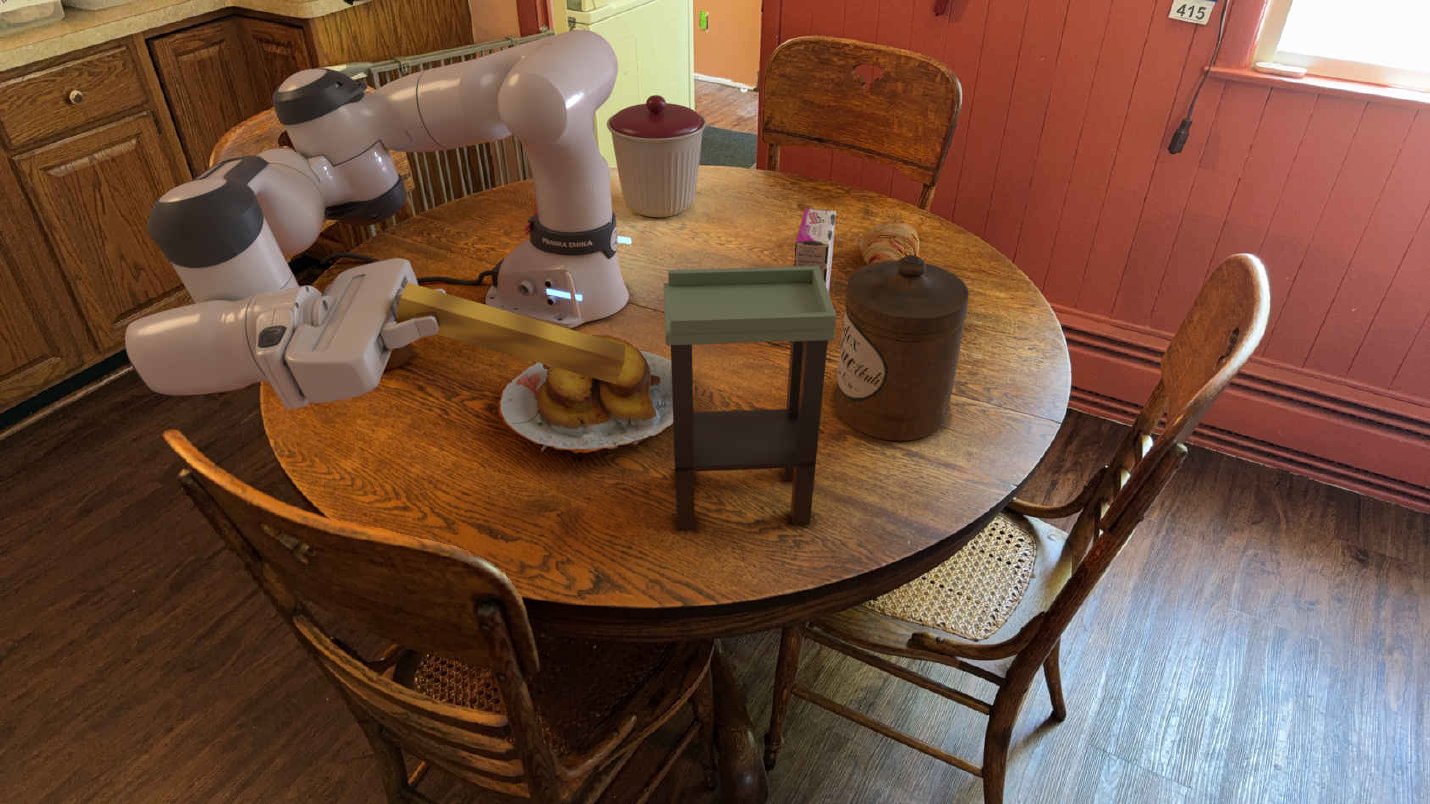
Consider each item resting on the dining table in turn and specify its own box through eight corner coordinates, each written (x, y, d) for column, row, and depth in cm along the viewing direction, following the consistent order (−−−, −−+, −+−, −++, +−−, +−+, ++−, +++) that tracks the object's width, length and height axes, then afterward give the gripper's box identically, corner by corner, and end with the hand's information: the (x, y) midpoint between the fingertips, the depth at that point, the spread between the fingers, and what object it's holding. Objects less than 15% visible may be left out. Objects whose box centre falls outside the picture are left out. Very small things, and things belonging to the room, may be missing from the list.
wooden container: (826, 376, 120) (840, 232, 106) (930, 373, 120) (957, 229, 107) (845, 444, 108) (863, 291, 95) (960, 440, 108) (995, 287, 95)
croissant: (893, 310, 141) (922, 276, 135) (842, 277, 140) (870, 241, 135) (909, 251, 157) (936, 219, 151) (863, 222, 156) (888, 187, 151)
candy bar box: (797, 303, 136) (804, 206, 126) (828, 306, 135) (838, 209, 125) (787, 340, 127) (794, 239, 117) (821, 344, 126) (830, 243, 116)
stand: (672, 532, 95) (664, 321, 79) (670, 473, 103) (663, 269, 87) (814, 526, 96) (836, 315, 80) (802, 467, 104) (819, 265, 88)
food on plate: (465, 444, 107) (455, 402, 104) (555, 343, 126) (550, 304, 123) (653, 487, 101) (650, 445, 97) (719, 374, 120) (719, 334, 116)
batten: (394, 323, 81) (400, 297, 80) (401, 307, 84) (407, 282, 82) (615, 384, 88) (625, 361, 86) (615, 367, 90) (625, 345, 89)
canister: (721, 197, 169) (722, 88, 156) (681, 234, 156) (678, 118, 143) (640, 182, 175) (635, 76, 162) (595, 216, 162) (585, 103, 149)
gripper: (343, 306, 93) (468, 286, 93) (282, 421, 77) (433, 397, 77) (319, 255, 89) (449, 234, 89) (249, 364, 73) (408, 339, 73)
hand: (441, 310), depth 83 cm, fingers closed on batten, 3 cm apart
